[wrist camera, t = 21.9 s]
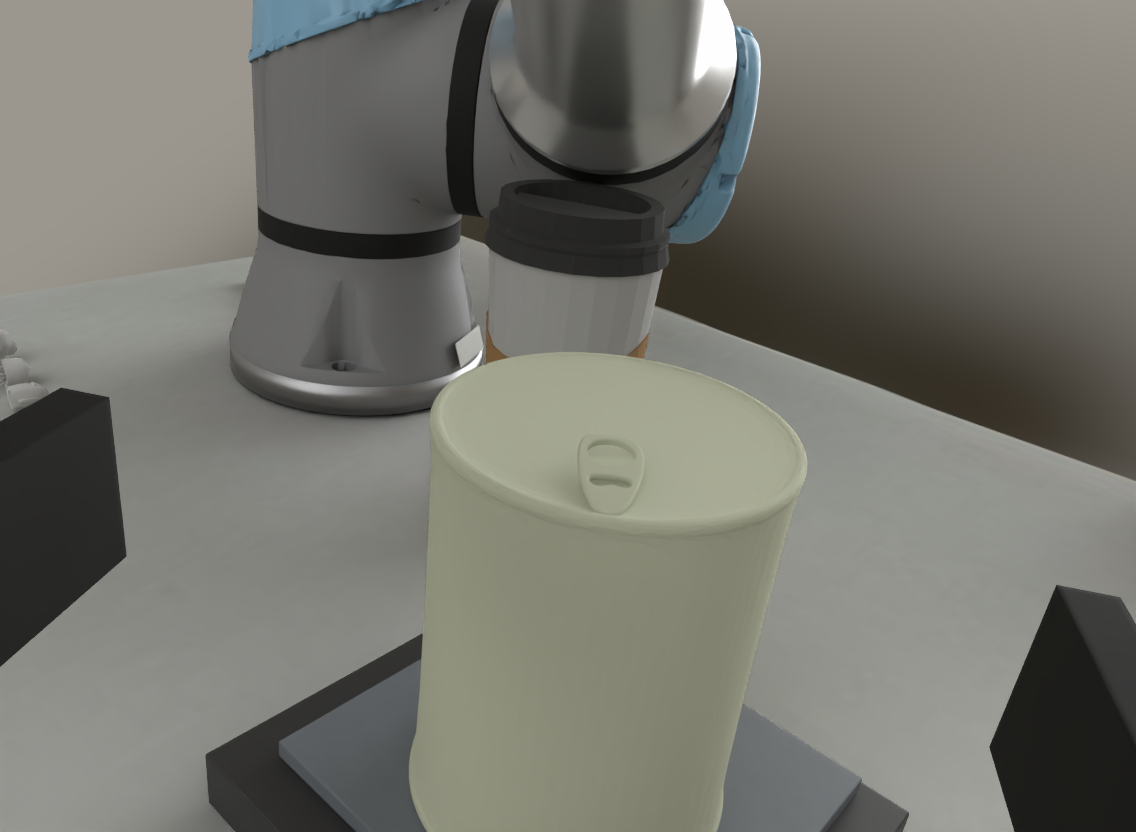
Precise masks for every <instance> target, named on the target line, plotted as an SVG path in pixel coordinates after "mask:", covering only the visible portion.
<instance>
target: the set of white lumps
mask: <svg viewBox="0 0 1136 832" xmlns="http://www.w3.org/2000/svg"><path fill="white" fill-rule="evenodd" d="M16 351H17V346H16V344H15V343H14V341H13V340H12V339H11V338H10V336H9V334H8V333H7V332H6V331H5V330H4V329H2V328H0V363H1V364H2V366H1V365H0V373H2V374H0V383H2V381H3V380H4V385H5V389H6V395H7V398H8V402H9V405H10V407H11V409H12V410H14V409H16V408H20V407H27V406H29V405H31V404H33V403H35V402H36V401H38V400H40V399H42V398H44V397H45V396H47V395H48V394H49V392H48V390H47V389H46V388H45V387H44V386H43V385H40V384H38V383H35V382H34V381H32V383H27V382H28V381H29V379H30V368H29V365H28V363H27V362H26V361H25V360H23V359H21V358H19V357H18V358H4V357H5V356H6V355H13V354H14V353H15V352H16Z"/></svg>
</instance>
